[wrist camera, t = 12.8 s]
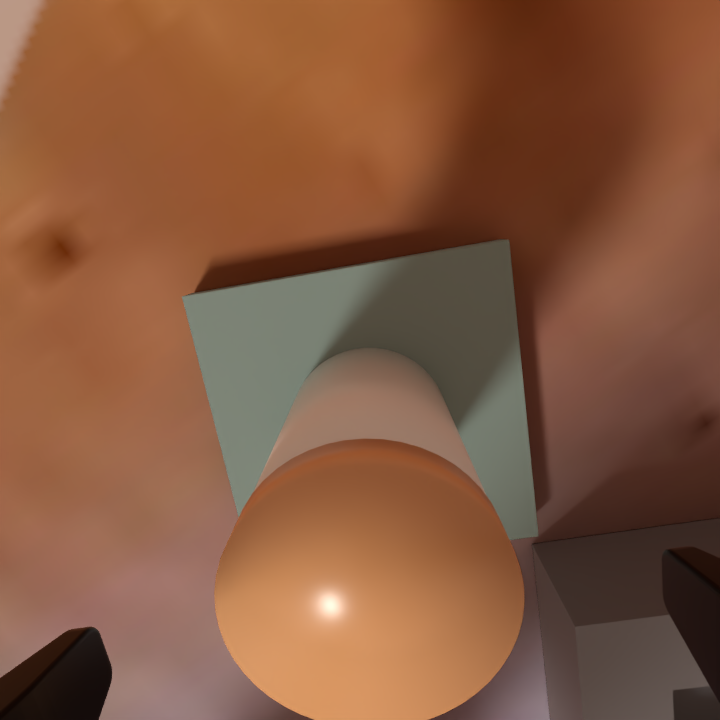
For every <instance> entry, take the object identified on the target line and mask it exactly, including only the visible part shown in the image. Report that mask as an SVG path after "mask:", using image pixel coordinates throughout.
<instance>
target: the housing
mask: <svg viewBox="0 0 720 720" xmlns="http://www.w3.org/2000/svg"><path fill="white" fill-rule="evenodd" d="M683 546H694V547H696V548H699V549H701V550H703V551H706V552H708V553H710V554H713V555H715V556H717V557H719V558H720V518H717V519H710V520H703V521H696V522H689V523H681V524H674V525H667V526H660V527H652V528H645V529H638V530H631V531H624V532H616V533H609V534H602V535H595V536H587V537H580V538H573V539H566V540H559V541H551V542H544V543H537V544H532V549H533V559H534V569H535V578H536V588H537V598H538V607H539V617H540V627H541V637H542V646H543V656H544V666H545V675H546V685H547V695H548V705H549V714H550V720H720V704H719V702H718V700H717V699H716V697H715V695H714V693H713V692H712V690H711V688H710V686H709V684H708V683H707V681H706V679H705V677H704V676H703V674H702V672H701V670H700V668H699V667H698V665H697V663H696V661H695V659H694V658H693V656H692V654H691V652H690V651H689V649H688V647H687V645H686V643H685V642H684V640H683V638H682V636H681V635H680V633H679V631H678V629H677V627H676V626H675V624H674V622H673V620H672V619H671V617H670V615H669V613H668V611H667V609H666V606H665V604H664V600H663V594H662V565H661V557H662V553H663V551H664V550H666V549H668V548H675V547H683Z"/></svg>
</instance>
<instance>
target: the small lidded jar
mask: <svg viewBox="0 0 720 720" xmlns="http://www.w3.org/2000/svg"><path fill="white" fill-rule="evenodd" d="M214 594H215V611H216V615H217V620H218V625H219V628H220V631H221V634H222V637H223V639H224V642H225V644H226V646H227V648H228V650H229V652H230V654H231V655H232V657H233V659H234V660H235V662H236V663H237V664H238V666H239V667H240V669H241V670H242V671H243V673H244V674H245V675H246V676H247V677H248V678H249V679H250V680H251V681H252V682H253V683H254V684H255V685H256V686H257V687H258V688H259V689H261V690H262V691H263V692H264V693H265V694H267V695H268V696H269V697H271V698H272V699H274V700H275V701H277V702H278V703H280V704H281V705H283V706H284V707H286V708H288V709H290V710H292V711H294V712H296V713H298V714H300V715H303V716H306V717H309V718H311V719H314V720H429V719H431V718H434V717H436V716H439V715H441V714H444V713H446V712H448V711H450V710H452V709H453V708H455V707H457V706H459V705H461V704H462V703H464V702H465V701H467V700H468V699H469V698H471V697H472V696H474V695H475V694H476V693H478V692H479V691H480V690H481V689H482V688H483V687H484V686H485V685H486V684H487V683H489V682H490V681H491V679H492V678H493V677H494V676H495V675H496V673H497V672H498V671H499V670H500V669H501V667H502V666H503V664H504V663H505V661H506V660H507V658H508V656H509V655H510V653H511V651H512V649H513V647H514V644H515V642H516V640H517V638H518V634H519V631H520V627H521V624H522V620H523V612H524V604H525V602H524V583H523V578H522V573H521V568H520V565H519V562H518V559H517V557H516V554H515V551H514V549H513V547H512V544H511V542H510V540H509V538H508V536H507V533H506V531H505V529H504V527H503V525H502V522H501V520H500V518H499V516H498V514H497V512H496V510H495V508H494V507H493V505H492V503H491V501H490V500H489V499H488V497H487V496H486V493H485V491H484V489H483V487H482V484H481V482H480V480H479V478H478V475H477V473H476V471H475V469H474V466H473V464H472V462H471V460H470V457H469V455H468V453H467V451H466V448H465V446H464V444H463V442H462V439H461V437H460V435H459V433H458V430H457V428H456V426H455V424H454V421H453V419H452V417H451V415H450V412H449V410H448V408H447V406H446V403H445V401H444V399H443V397H442V394H441V392H440V390H439V388H438V386H437V385H436V383H435V382H434V380H433V379H432V377H431V376H430V375H429V374H428V373H427V372H426V371H425V370H424V369H423V368H422V367H421V366H420V365H418V364H417V363H416V362H414V361H413V360H411V359H410V358H408V357H406V356H404V355H402V354H399V353H397V352H393V351H390V350H386V349H380V348H359V349H353V350H348V351H345V352H342V353H339V354H337V355H335V356H333V357H331V358H329V359H327V360H326V361H324V362H323V363H321V364H320V365H319V366H318V367H316V368H315V369H314V370H313V371H312V372H311V373H310V375H309V376H308V377H307V378H306V379H305V381H304V383H303V384H302V386H301V388H300V389H299V392H298V394H297V396H296V398H295V401H294V403H293V405H292V407H291V409H290V412H289V414H288V416H287V418H286V421H285V423H284V425H283V427H282V430H281V432H280V434H279V436H278V438H277V441H276V443H275V445H274V447H273V450H272V452H271V454H270V456H269V458H268V461H267V463H266V465H265V467H264V470H263V472H262V474H261V476H260V478H259V481H258V483H257V485H256V487H255V490H254V492H253V493H252V495H251V496H250V498H249V500H248V501H247V503H246V504H245V506H244V508H243V509H242V512H241V514H240V516H239V518H238V520H237V523H236V525H235V527H234V529H233V531H232V533H231V536H230V538H229V540H228V542H227V544H226V547H225V549H224V551H223V554H222V556H221V558H220V562H219V566H218V570H217V574H216V582H215V592H214Z"/></svg>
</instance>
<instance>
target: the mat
mask: <svg viewBox="0 0 720 720" xmlns="http://www.w3.org/2000/svg"><path fill="white" fill-rule="evenodd" d="M182 299H183V302H184V306H185V310H186V314H187V318H188V322H189V326H190V330H191V334H192V337H193V341H194V345H195V349H196V353H197V357H198V361H199V365H200V369H201V372H202V376H203V380H204V384H205V388H206V392H207V396H208V400H209V404H210V407H211V411H212V415H213V419H214V423H215V427H216V431H217V435H218V439H219V443H220V446H221V450H222V454H223V458H224V462H225V466H226V470H227V474H228V478H229V481H230V485H231V489H232V493H233V497H234V501H235V505H236V509H237V513H238V516H240V514H241V512H242V509H243V508H244V506H245V504H246V503H247V501H248V500H249V498H250V496H251V495H252V493H253V492H254V490H255V487H256V485H257V483H258V481H259V478H260V476H261V474H262V472H263V470H264V467H265V465H266V463H267V461H268V458H269V456H270V454H271V452H272V450H273V447H274V445H275V443H276V441H277V438H278V436H279V434H280V432H281V430H282V427H283V425H284V423H285V421H286V418H287V416H288V414H289V412H290V409H291V407H292V405H293V403H294V401H295V398H296V396H297V394H298V392H299V389H300V388H301V386H302V384H303V383H304V381H305V379H306V378H307V377H308V376H309V375H310V373H311V372H312V371H313V370H314V369H315V368H316V367H318V366H319V365H320V364H321V363H323V362H324V361H326V360H327V359H329V358H331V357H333V356H335V355H337V354H339V353H342V352H345V351H348V350H353V349H359V348H380V349H386V350H390V351H393V352H397V353H399V354H402V355H404V356H406V357H408V358H410V359H411V360H413V361H414V362H416V363H417V364H418V365H420V366H421V367H422V368H423V369H424V370H425V371H426V372H427V373H428V374H429V375H430V376H431V377H432V379H433V380H434V382H435V383H436V385H437V386H438V388H439V390H440V392H441V394H442V397H443V399H444V401H445V403H446V406H447V408H448V410H449V412H450V415H451V417H452V419H453V421H454V424H455V426H456V428H457V430H458V433H459V435H460V437H461V439H462V442H463V444H464V446H465V448H466V451H467V453H468V455H469V457H470V460H471V462H472V464H473V466H474V469H475V471H476V473H477V475H478V478H479V480H480V482H481V484H482V487H483V489H484V491H485V493H486V496H487V497H488V499H489V500H490V501H491V503H492V505H493V507H494V508H495V510H496V512H497V514H498V516H499V518H500V520H501V522H502V525H503V527H504V529H505V531H506V533H507V536H508V538H509V540H515V539H522V538H529V537H536V536H538V526H537V516H536V506H535V496H534V486H533V476H532V466H531V455H530V445H529V435H528V425H527V415H526V405H525V395H524V385H523V375H522V365H521V354H520V344H519V334H518V324H517V314H516V304H515V294H514V284H513V274H512V263H511V253H510V243H509V240H505V239H500V240H494V241H488V242H482V243H477V244H471V245H465V246H459V247H454V248H448V249H442V250H436V251H431V252H425V253H419V254H414V255H408V256H402V257H396V258H391V259H385V260H379V261H373V262H368V263H362V264H356V265H350V266H345V267H339V268H333V269H328V270H322V271H316V272H310V273H305V274H299V275H293V276H287V277H282V278H276V279H270V280H264V281H259V282H253V283H247V284H241V285H236V286H230V287H224V288H219V289H213V290H207V291H201V292H196V293H191V294H188V295H186V296H183V297H182Z"/></svg>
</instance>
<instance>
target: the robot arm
mask: <svg viewBox="0 0 720 720" xmlns="http://www.w3.org/2000/svg"><path fill="white" fill-rule="evenodd" d="M661 565H662V594H663V600H664V604H665V606H666V609H667V611H668V613H669V615H670V617H671V619H672V620H673V622H674V624H675V626H676V627H677V629H678V631H679V633H680V635H681V636H682V638H683V640H684V642H685V643H686V645H687V647H688V649H689V651H690V652H691V654H692V656H693V658H694V659H695V661H696V663H697V665H698V667H699V668H700V670H701V672H702V674H703V676H704V677H705V679H706V681H707V683H708V684H709V686H710V688H711V690H712V692H713V693H714V695H715V697H716V699H717V700H718V702H719V704H720V558H719V557H717V556H715V555H713V554H710V553H708V552H706V551H703V550H701V549H699V548H696V547H694V546H683V547H675V548H668V549H666V550H664V551H663V553H662V557H661ZM111 679H112V667H111V663H110V661H109V658H108V655H107V652H106V649H105V646H104V644H103V641H102V638H101V635H100V633H99V631H98V630H97V629H96V628H94V627H84V628H77V629H71V630H68V631H66V632H65V633H63V634H62V635H60V636H59V637H58V638H56V639H55V640H53V641H52V642H51V643H49V644H48V645H46V646H45V647H43V648H42V649H41V650H39V651H38V652H36V653H35V654H34V655H32V656H31V657H29V658H28V659H26V660H25V661H24V662H22V663H21V664H19V665H18V666H17V667H15V668H14V669H12V670H11V671H10V672H8V673H7V674H5V675H4V676H2V677H1V678H0V720H99V717H100V714H101V711H102V708H103V705H104V702H105V699H106V696H107V693H108V690H109V687H110V684H111Z"/></svg>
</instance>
